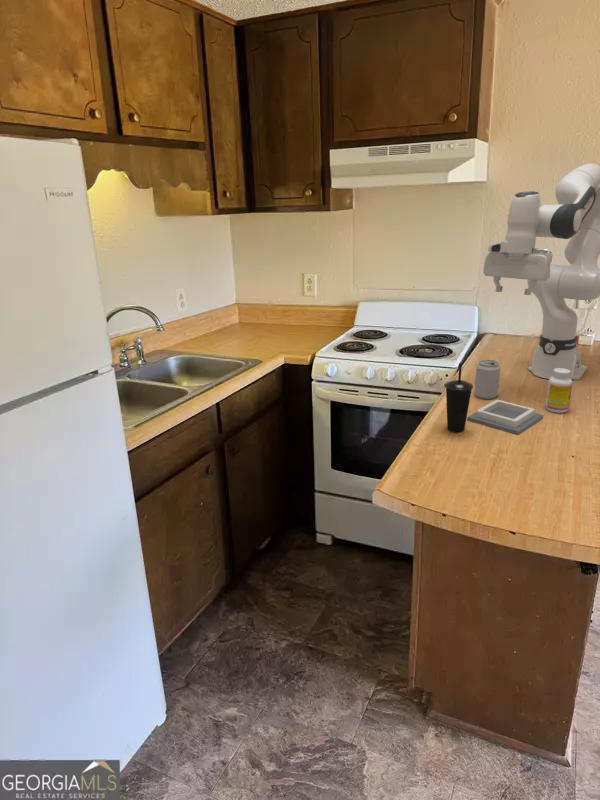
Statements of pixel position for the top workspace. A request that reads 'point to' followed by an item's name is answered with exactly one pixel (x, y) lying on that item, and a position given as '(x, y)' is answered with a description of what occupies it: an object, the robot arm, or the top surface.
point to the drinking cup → (457, 403)
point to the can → (487, 379)
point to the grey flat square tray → (506, 416)
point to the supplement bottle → (559, 391)
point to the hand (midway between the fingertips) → (512, 293)
